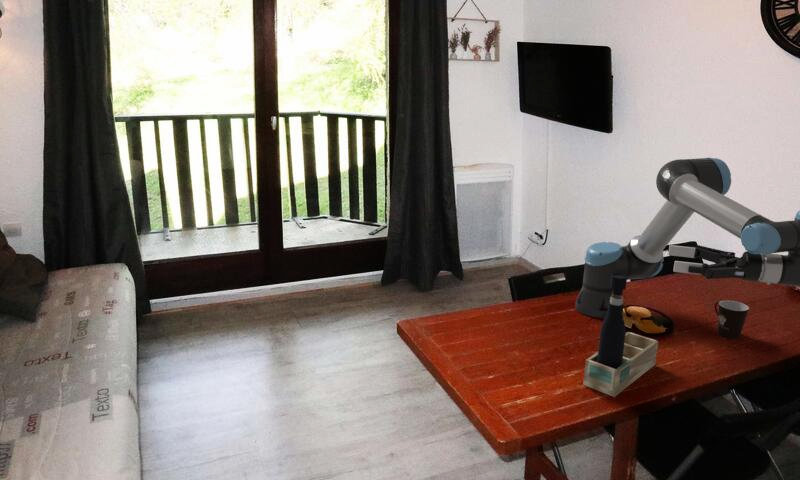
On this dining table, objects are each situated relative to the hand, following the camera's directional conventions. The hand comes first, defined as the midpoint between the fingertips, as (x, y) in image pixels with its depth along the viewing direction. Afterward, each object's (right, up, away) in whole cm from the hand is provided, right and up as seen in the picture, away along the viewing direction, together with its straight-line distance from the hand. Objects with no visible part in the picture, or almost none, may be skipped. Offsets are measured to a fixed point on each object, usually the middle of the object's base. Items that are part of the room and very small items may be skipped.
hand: (671, 257), depth 177 cm
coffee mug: (+34, -25, +39) cm, 58 cm away
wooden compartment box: (-10, -33, +11) cm, 36 cm away
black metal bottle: (-16, -33, +4) cm, 37 cm away
